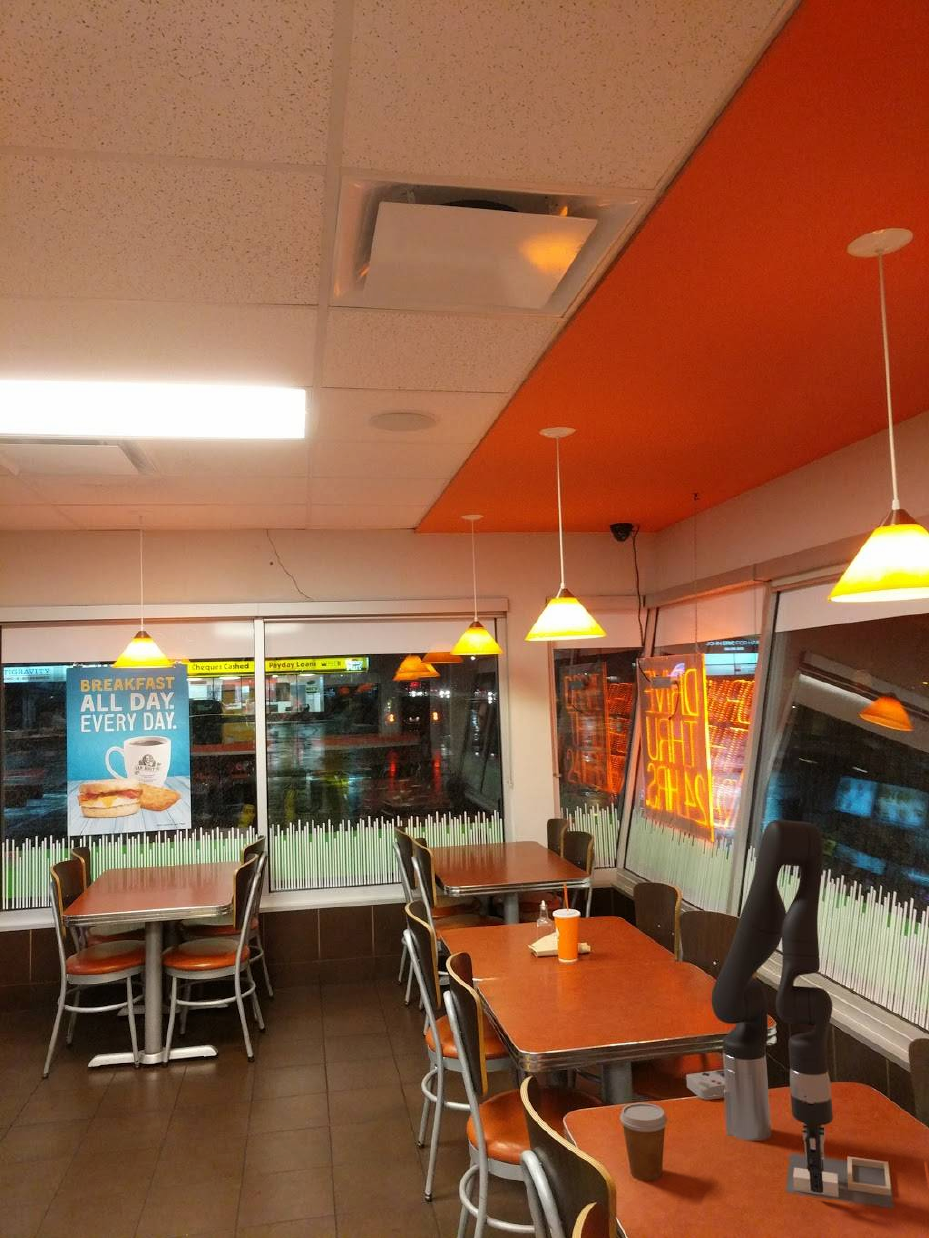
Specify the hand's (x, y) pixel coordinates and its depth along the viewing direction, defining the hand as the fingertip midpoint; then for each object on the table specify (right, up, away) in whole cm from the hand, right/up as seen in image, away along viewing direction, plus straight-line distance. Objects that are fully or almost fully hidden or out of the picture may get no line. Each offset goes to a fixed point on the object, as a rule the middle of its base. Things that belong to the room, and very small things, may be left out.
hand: (817, 1180), depth 176 cm
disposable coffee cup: (-31, -4, +9) cm, 33 cm away
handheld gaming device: (-4, -9, +50) cm, 51 cm away
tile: (0, -2, 0) cm, 2 cm away
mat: (+6, -2, +3) cm, 7 cm away
